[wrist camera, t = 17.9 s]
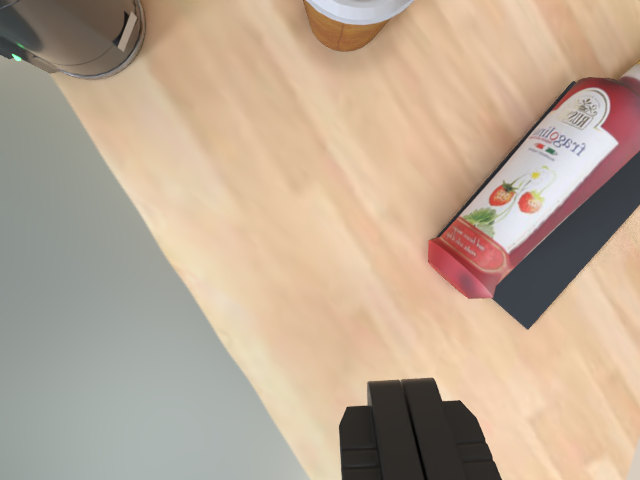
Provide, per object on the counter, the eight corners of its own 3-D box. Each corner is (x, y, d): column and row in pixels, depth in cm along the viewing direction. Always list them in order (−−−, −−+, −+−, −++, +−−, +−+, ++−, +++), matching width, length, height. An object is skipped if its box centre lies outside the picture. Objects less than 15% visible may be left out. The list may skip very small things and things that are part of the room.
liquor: (494, 323, 39) (743, 69, 37) (464, 288, 34) (751, -7, 32) (436, 273, 44) (652, 49, 43) (403, 237, 39) (647, -19, 38)
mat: (526, 328, 43) (528, 329, 43) (430, 244, 42) (431, 244, 42) (667, 171, 43) (669, 171, 42) (572, 81, 42) (574, 80, 41)
